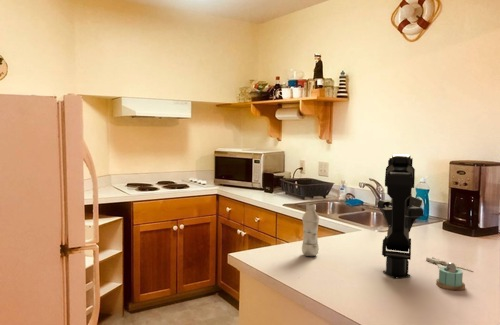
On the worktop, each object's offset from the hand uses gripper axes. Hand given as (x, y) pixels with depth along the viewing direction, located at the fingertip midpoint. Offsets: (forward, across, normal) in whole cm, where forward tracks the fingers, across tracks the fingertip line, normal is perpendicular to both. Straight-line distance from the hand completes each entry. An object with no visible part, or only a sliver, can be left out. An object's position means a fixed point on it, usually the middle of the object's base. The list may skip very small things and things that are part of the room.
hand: (398, 231), depth 143 cm
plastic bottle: (+12, +17, +27) cm, 34 cm away
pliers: (+13, -7, -15) cm, 21 cm away
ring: (+11, -23, -2) cm, 25 cm away
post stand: (+12, -23, -2) cm, 26 cm away
